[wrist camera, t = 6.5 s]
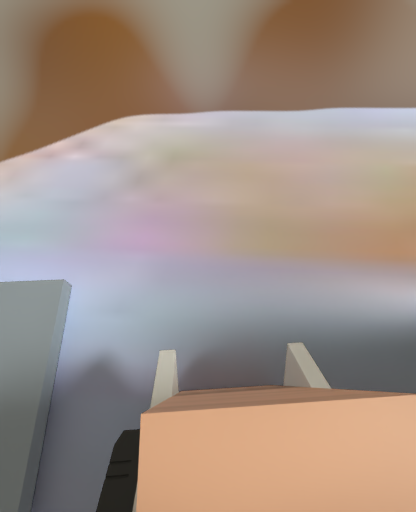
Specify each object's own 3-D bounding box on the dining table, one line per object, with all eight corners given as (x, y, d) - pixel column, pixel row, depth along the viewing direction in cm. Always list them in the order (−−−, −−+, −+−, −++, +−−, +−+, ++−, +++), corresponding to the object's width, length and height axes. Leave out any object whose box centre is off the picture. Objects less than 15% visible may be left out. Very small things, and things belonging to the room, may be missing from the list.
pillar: (181, 390, 16) (141, 413, 5) (271, 385, 16) (424, 393, 5) (182, 511, 13) (107, 1110, 2) (288, 502, 13) (649, 996, 3)
